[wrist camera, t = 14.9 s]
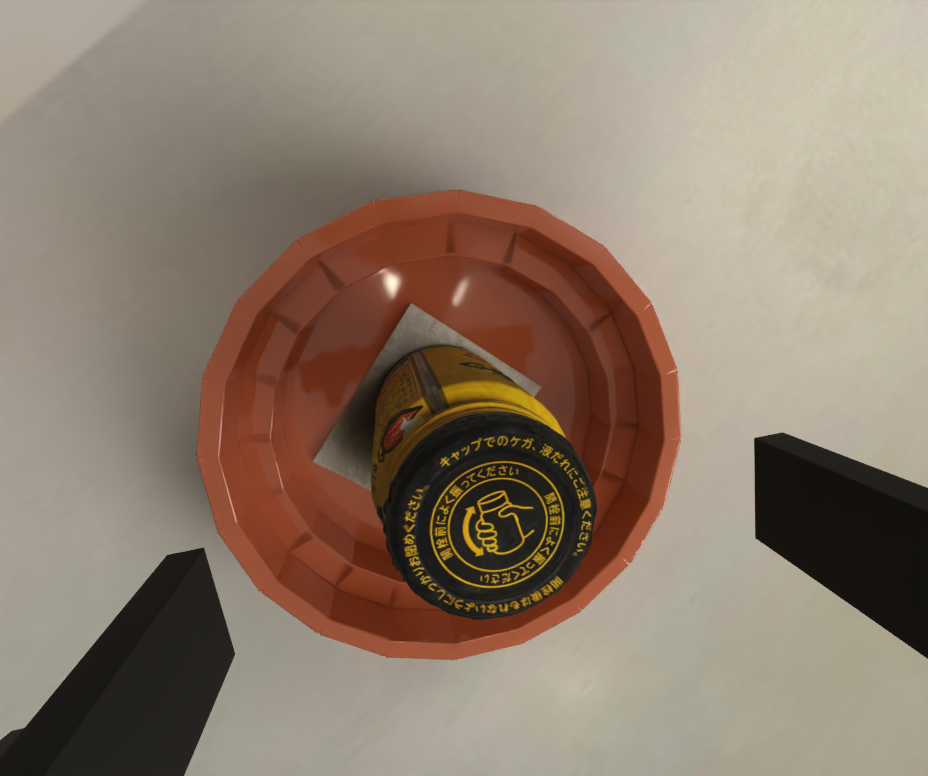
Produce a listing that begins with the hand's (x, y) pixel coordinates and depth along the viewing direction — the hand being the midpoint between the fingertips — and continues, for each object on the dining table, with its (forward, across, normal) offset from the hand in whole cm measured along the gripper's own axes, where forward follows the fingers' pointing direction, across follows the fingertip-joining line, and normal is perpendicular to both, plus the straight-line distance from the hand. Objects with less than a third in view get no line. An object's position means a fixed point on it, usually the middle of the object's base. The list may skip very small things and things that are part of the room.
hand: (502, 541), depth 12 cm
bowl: (+13, 0, 0) cm, 13 cm away
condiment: (+12, -1, 0) cm, 12 cm away
